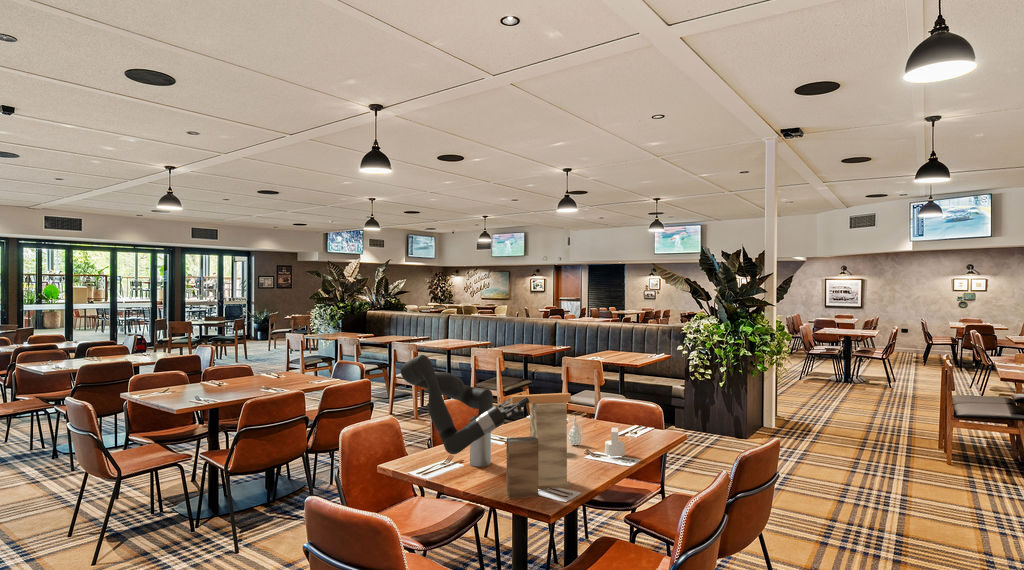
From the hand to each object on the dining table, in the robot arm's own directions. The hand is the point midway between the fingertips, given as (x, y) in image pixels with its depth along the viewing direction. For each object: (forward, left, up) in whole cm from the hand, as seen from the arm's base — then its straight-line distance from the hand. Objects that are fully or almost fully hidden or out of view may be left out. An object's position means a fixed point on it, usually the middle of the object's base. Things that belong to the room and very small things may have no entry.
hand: (525, 397), depth 218 cm
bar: (0, +6, -2) cm, 7 cm away
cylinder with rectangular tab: (-29, +51, -34) cm, 68 cm away
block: (+10, -4, -34) cm, 36 cm away
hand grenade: (-50, +40, -34) cm, 73 cm away
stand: (0, +9, -34) cm, 35 cm away
